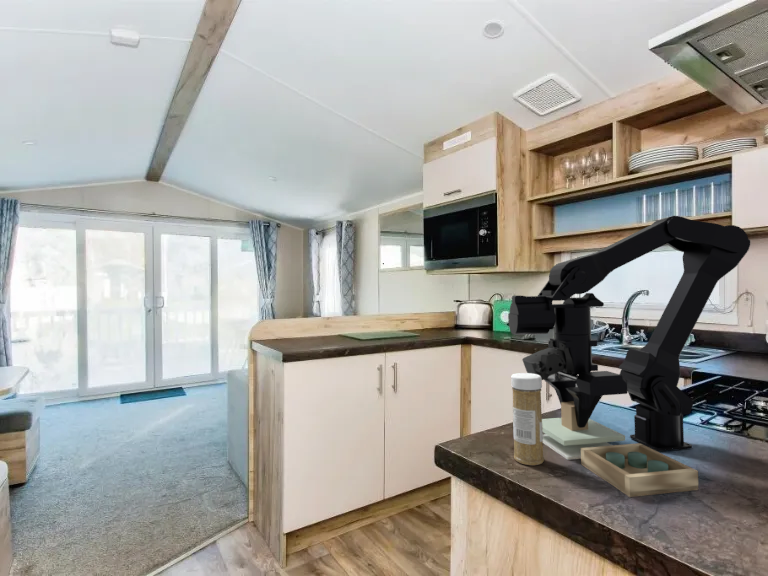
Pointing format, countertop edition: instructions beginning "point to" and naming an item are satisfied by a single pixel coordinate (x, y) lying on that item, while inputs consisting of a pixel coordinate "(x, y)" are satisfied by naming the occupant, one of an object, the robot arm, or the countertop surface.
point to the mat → (569, 447)
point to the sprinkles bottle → (527, 418)
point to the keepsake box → (639, 469)
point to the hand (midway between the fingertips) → (575, 424)
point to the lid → (577, 429)
